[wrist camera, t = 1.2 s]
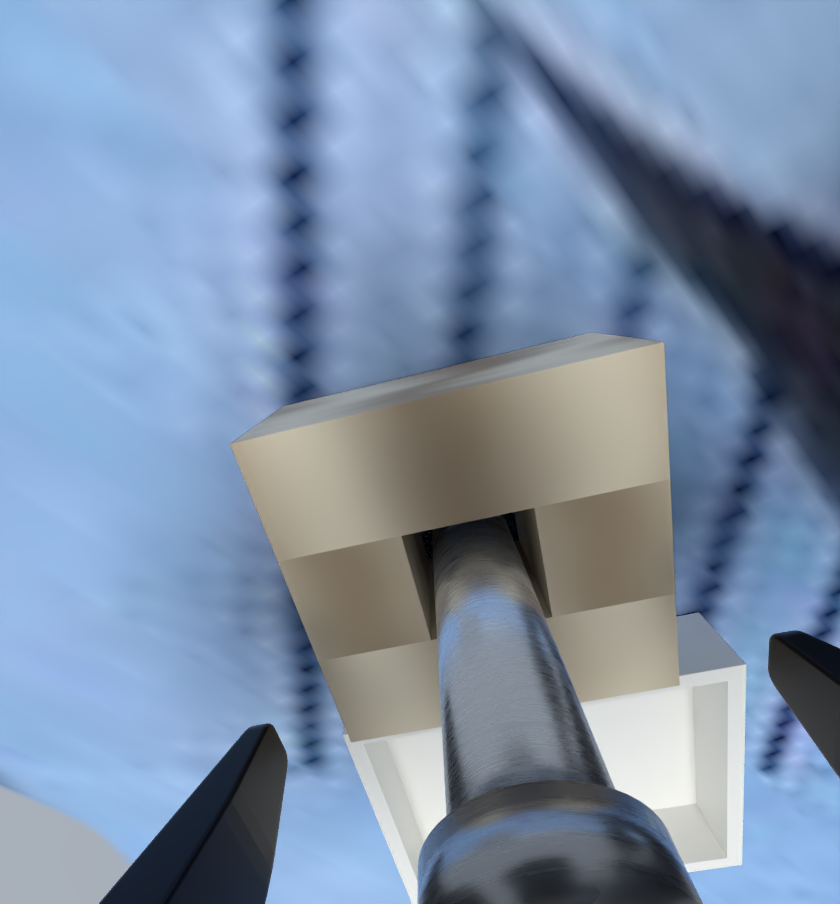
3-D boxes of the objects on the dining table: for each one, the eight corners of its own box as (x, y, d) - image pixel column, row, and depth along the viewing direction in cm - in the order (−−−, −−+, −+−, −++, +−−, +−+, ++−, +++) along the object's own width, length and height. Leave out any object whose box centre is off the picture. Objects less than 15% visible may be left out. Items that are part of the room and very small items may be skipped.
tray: (698, 612, 16) (746, 664, 14) (703, 797, 20) (742, 864, 17) (353, 676, 17) (342, 735, 15) (415, 841, 21) (415, 910, 18)
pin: (500, 457, 14) (714, 848, 4) (516, 538, 15) (717, 1015, 5) (409, 477, 14) (384, 895, 4) (430, 555, 15) (450, 1046, 5)
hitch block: (591, 332, 13) (664, 341, 9) (617, 596, 16) (679, 685, 12) (283, 406, 13) (229, 443, 10) (366, 644, 17) (351, 742, 13)
